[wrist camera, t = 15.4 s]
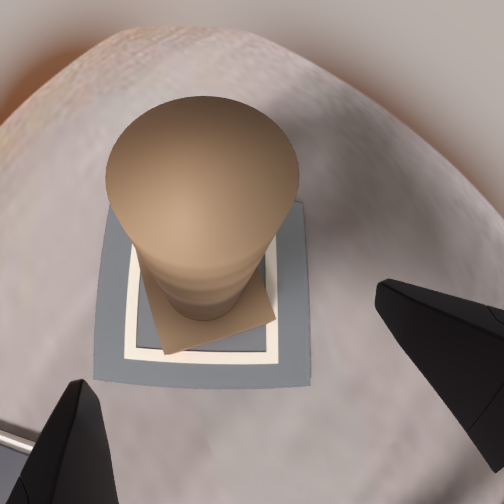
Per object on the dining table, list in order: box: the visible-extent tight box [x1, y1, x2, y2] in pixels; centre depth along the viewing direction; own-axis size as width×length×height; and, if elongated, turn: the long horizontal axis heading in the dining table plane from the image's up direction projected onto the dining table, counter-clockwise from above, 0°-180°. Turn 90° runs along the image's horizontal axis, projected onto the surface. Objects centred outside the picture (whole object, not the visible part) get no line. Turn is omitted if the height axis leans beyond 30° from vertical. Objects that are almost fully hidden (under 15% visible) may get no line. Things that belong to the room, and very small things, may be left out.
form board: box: [94, 202, 310, 389], centre depth 18 cm, size 13×12×1 cm
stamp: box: [105, 96, 299, 355], centre depth 12 cm, size 6×6×13 cm
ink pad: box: [0, 430, 36, 504], centre depth 11 cm, size 9×9×1 cm
